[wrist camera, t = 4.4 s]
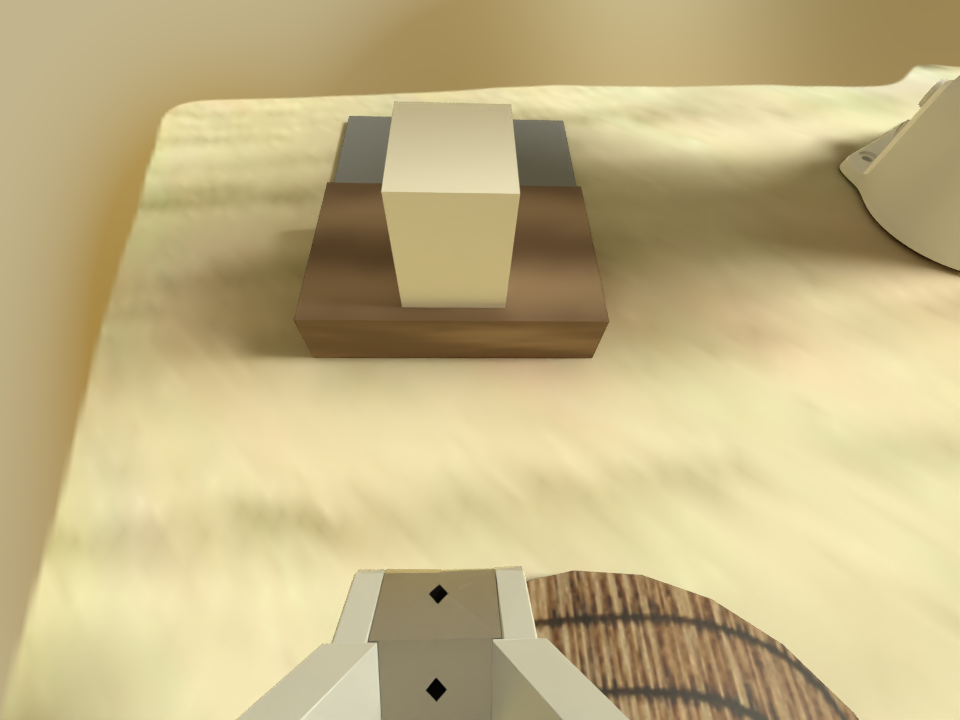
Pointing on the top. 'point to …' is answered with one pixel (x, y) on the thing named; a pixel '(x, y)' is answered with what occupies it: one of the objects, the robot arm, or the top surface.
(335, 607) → the top surface
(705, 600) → the trivet
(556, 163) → the charcoal mat
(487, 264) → the cream block
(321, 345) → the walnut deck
